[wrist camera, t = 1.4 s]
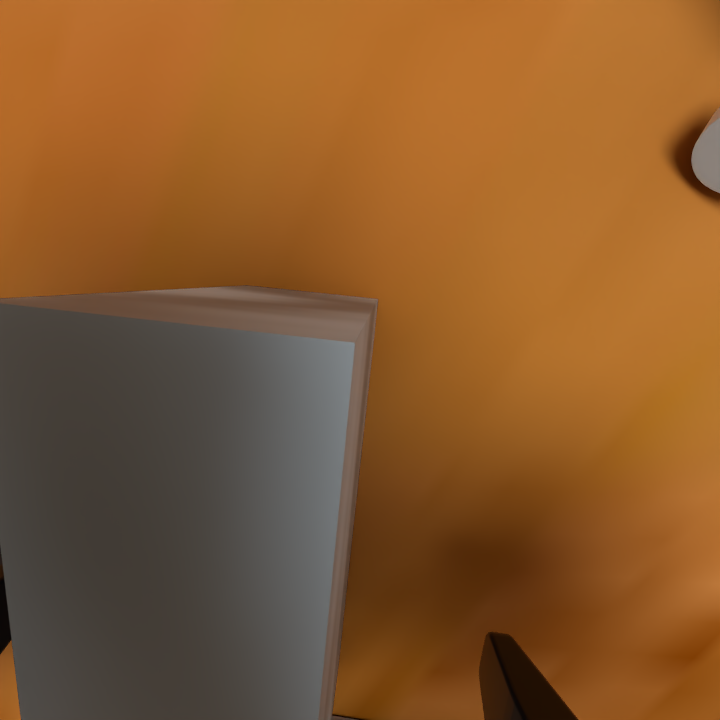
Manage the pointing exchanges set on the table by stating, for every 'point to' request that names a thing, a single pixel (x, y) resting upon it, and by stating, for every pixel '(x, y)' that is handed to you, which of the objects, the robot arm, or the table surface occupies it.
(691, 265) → the table surface
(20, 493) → the long grey rectangular beam
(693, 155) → the reed diffuser
